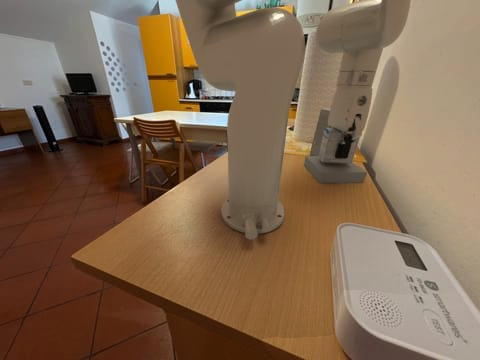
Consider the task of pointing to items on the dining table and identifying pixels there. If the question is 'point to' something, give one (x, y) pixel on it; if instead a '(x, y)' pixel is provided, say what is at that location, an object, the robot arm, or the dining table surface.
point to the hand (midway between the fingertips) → (335, 153)
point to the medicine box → (334, 146)
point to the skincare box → (320, 131)
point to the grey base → (334, 171)
